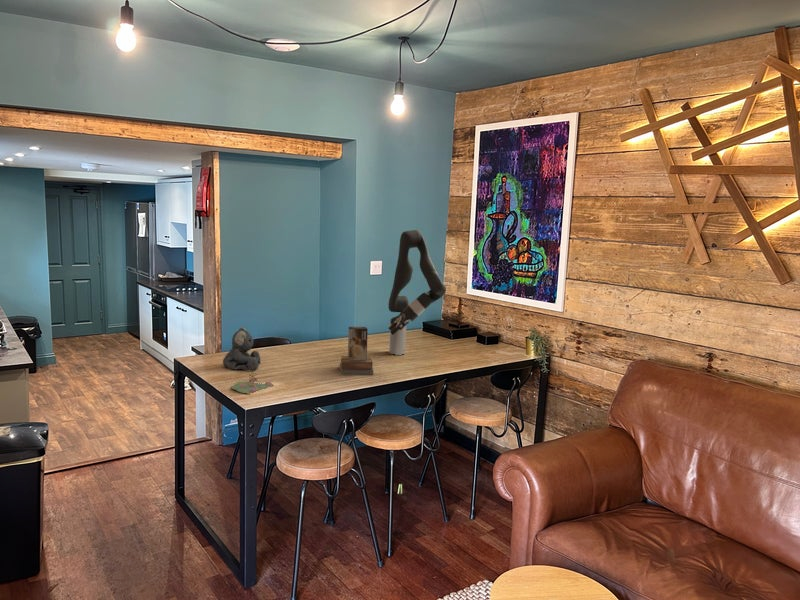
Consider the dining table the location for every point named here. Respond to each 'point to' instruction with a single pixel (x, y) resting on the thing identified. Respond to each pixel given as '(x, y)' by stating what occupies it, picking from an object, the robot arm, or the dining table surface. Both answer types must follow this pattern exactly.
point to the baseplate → (356, 371)
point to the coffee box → (357, 343)
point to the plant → (250, 386)
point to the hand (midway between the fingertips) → (390, 331)
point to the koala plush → (242, 352)
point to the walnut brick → (356, 364)
